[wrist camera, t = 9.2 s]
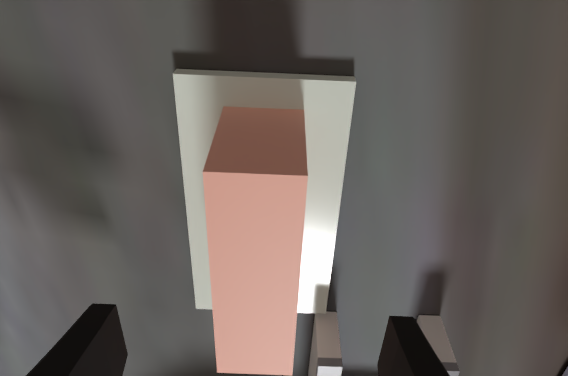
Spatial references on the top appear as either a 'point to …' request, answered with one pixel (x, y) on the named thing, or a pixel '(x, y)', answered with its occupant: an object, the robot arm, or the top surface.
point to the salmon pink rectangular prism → (256, 236)
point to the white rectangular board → (320, 160)
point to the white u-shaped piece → (328, 351)
